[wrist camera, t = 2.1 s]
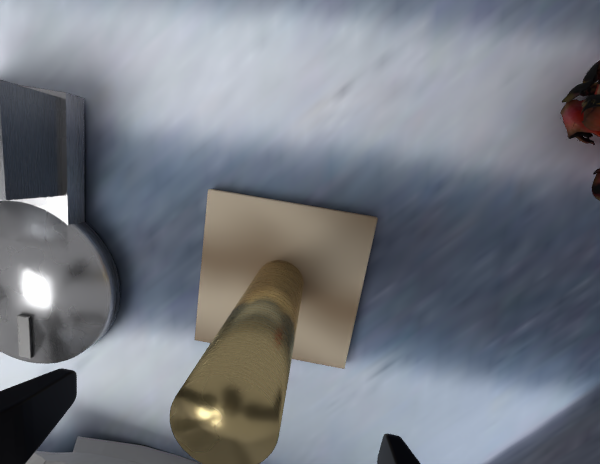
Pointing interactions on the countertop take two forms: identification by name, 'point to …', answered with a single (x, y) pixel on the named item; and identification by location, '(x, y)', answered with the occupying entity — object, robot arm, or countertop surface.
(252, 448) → the brass cylinder
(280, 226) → the tan square plate
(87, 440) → the iron
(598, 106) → the dragon fruit
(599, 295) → the countertop surface
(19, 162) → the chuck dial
